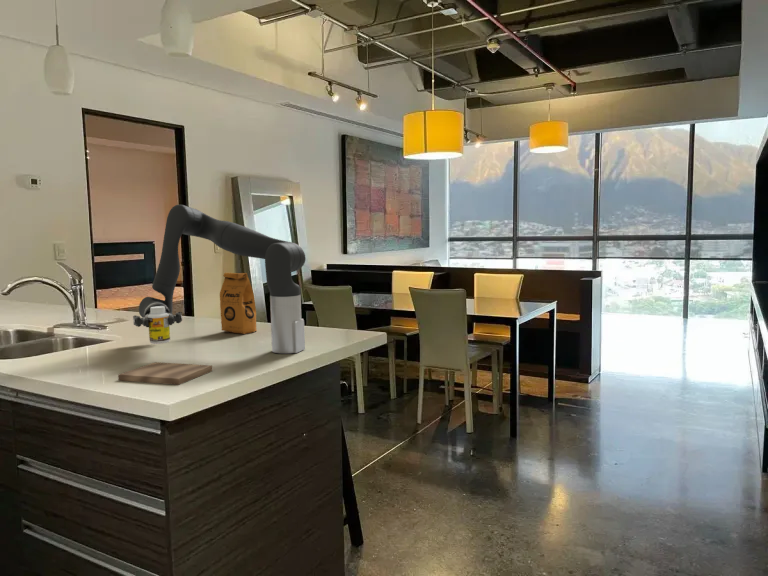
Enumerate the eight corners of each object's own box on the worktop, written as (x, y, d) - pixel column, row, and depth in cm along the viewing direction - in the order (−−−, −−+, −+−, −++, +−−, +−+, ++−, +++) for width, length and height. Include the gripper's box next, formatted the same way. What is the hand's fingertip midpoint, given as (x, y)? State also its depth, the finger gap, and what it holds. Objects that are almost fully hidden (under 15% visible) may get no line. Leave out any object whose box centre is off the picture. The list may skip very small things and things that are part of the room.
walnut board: (212, 371, 154) (212, 365, 154) (179, 384, 141) (178, 378, 141) (155, 367, 160) (155, 362, 160) (118, 380, 146) (118, 374, 146)
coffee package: (241, 335, 206) (238, 274, 204) (217, 332, 213) (214, 273, 211) (261, 331, 215) (259, 272, 212) (238, 328, 222) (235, 271, 219)
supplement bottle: (145, 343, 165) (142, 308, 164) (158, 340, 170) (155, 305, 169) (161, 344, 163) (159, 308, 162) (174, 340, 169) (172, 305, 168)
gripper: (131, 305, 176) (130, 311, 161) (181, 301, 182) (184, 307, 166) (133, 329, 177) (132, 338, 161) (182, 325, 182) (186, 333, 167)
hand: (159, 322), depth 164 cm, fingers closed on supplement bottle, 5 cm apart
